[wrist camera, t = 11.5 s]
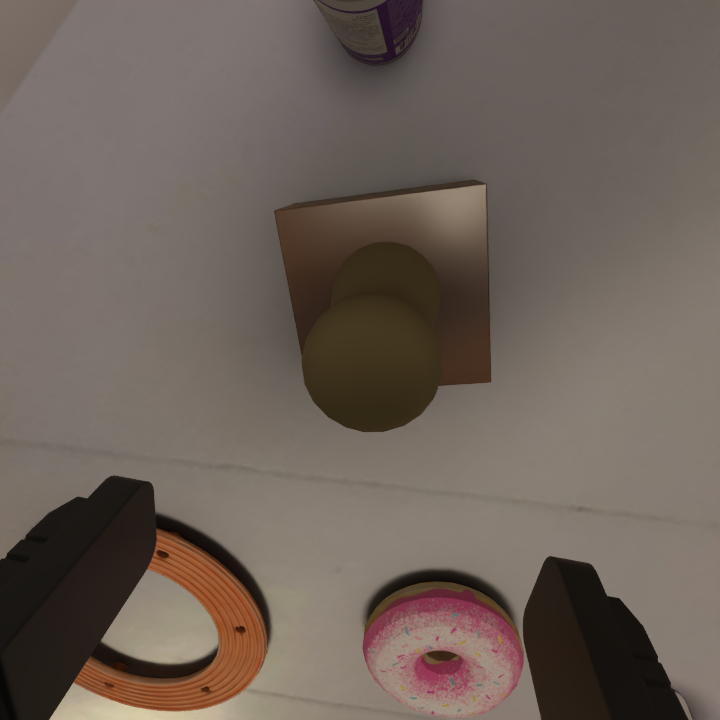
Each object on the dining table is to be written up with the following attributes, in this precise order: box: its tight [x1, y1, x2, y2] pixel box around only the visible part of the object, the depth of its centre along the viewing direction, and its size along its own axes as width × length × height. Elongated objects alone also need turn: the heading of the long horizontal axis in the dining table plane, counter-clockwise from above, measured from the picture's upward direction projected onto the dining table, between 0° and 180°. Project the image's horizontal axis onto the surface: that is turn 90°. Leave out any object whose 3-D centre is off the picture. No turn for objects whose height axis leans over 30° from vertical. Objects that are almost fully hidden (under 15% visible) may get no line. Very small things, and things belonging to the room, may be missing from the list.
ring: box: [74, 528, 268, 711], centre depth 44 cm, size 25×25×2 cm
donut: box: [363, 582, 524, 718], centre depth 39 cm, size 14×13×5 cm
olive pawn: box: [302, 242, 442, 432], centre depth 21 cm, size 6×6×11 cm
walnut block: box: [274, 180, 491, 386], centre depth 28 cm, size 11×11×4 cm
